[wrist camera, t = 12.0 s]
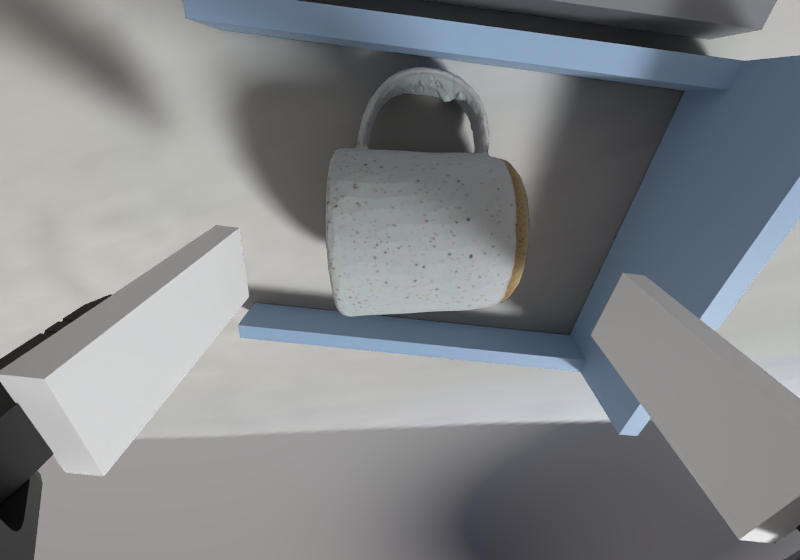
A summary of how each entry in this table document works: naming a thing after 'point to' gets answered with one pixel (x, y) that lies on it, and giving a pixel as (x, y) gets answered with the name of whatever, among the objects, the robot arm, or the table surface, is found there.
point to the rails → (646, 14)
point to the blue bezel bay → (648, 214)
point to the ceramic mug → (424, 216)
